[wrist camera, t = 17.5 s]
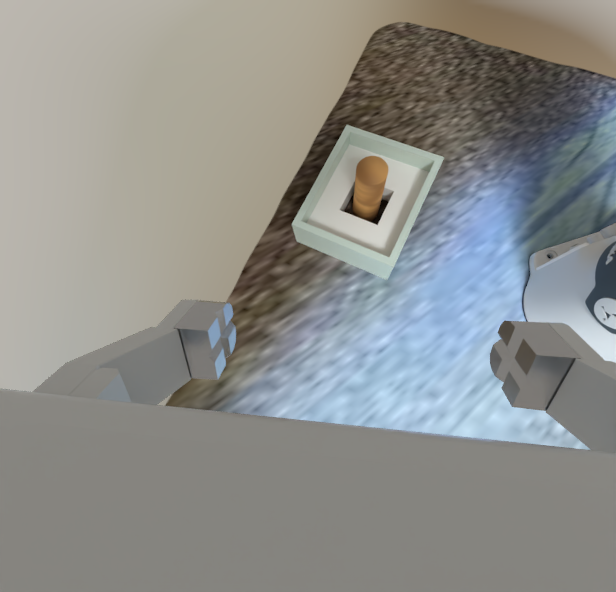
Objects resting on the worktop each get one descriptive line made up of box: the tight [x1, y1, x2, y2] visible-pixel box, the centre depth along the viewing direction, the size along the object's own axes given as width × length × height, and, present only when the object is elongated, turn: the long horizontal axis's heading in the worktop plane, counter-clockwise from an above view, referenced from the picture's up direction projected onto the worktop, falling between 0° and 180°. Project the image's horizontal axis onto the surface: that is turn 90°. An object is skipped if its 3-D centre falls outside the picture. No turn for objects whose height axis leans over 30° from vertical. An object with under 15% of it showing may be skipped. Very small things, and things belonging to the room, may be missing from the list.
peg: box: [353, 156, 388, 222], centre depth 44 cm, size 4×4×10 cm
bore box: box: [292, 125, 444, 280], centre depth 46 cm, size 18×15×6 cm
